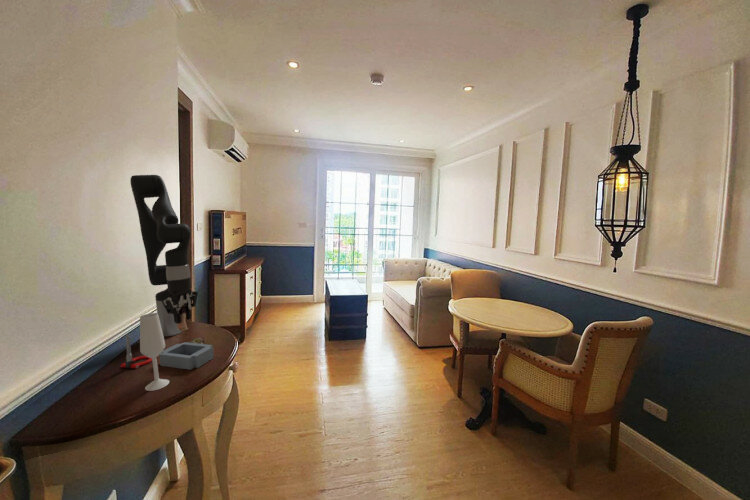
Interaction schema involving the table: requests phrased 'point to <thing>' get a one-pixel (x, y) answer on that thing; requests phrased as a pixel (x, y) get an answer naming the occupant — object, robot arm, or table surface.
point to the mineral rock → (197, 341)
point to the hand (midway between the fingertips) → (183, 321)
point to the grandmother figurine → (182, 317)
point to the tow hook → (130, 361)
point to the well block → (186, 355)
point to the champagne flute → (152, 346)
